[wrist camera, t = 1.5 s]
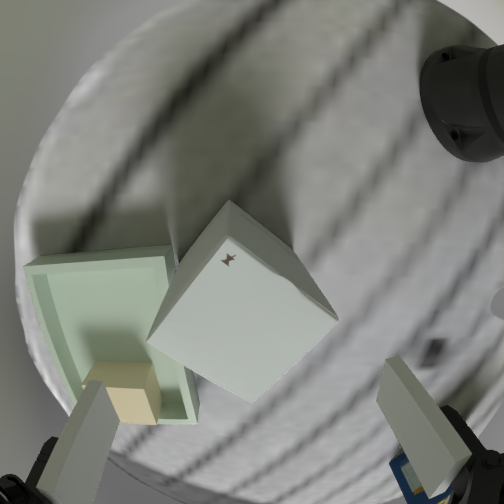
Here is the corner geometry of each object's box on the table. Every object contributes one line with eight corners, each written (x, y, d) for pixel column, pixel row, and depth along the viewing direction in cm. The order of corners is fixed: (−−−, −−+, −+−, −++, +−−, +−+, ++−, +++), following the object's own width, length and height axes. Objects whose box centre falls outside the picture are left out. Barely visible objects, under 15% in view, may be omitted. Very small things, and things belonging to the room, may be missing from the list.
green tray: (172, 244, 31) (164, 256, 28) (199, 403, 38) (197, 424, 34) (40, 255, 31) (23, 266, 27) (88, 398, 37) (79, 416, 33)
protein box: (461, 428, 47) (493, 474, 32) (407, 471, 49) (431, 520, 34) (447, 415, 44) (485, 468, 29) (387, 463, 47) (412, 520, 32)
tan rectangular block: (152, 362, 34) (143, 388, 30) (163, 398, 36) (156, 425, 31) (95, 361, 34) (81, 384, 29) (108, 395, 36) (97, 420, 31)
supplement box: (175, 264, 32) (138, 341, 18) (228, 197, 31) (226, 228, 16) (243, 313, 34) (251, 408, 20) (296, 252, 33) (344, 320, 18)
